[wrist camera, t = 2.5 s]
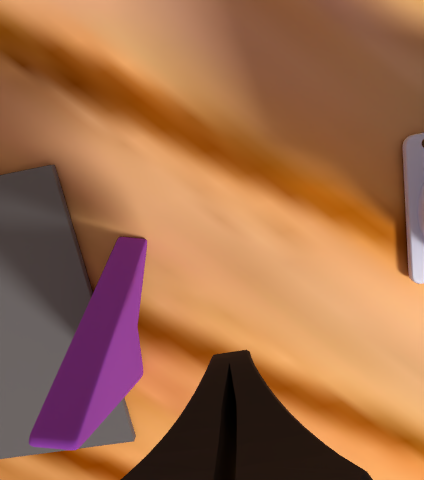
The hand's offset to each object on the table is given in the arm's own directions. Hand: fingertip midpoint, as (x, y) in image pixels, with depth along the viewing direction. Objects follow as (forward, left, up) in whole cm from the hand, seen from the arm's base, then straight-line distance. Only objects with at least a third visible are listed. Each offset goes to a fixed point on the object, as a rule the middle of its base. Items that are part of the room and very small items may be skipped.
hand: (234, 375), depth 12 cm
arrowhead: (+6, 0, -8) cm, 10 cm away
